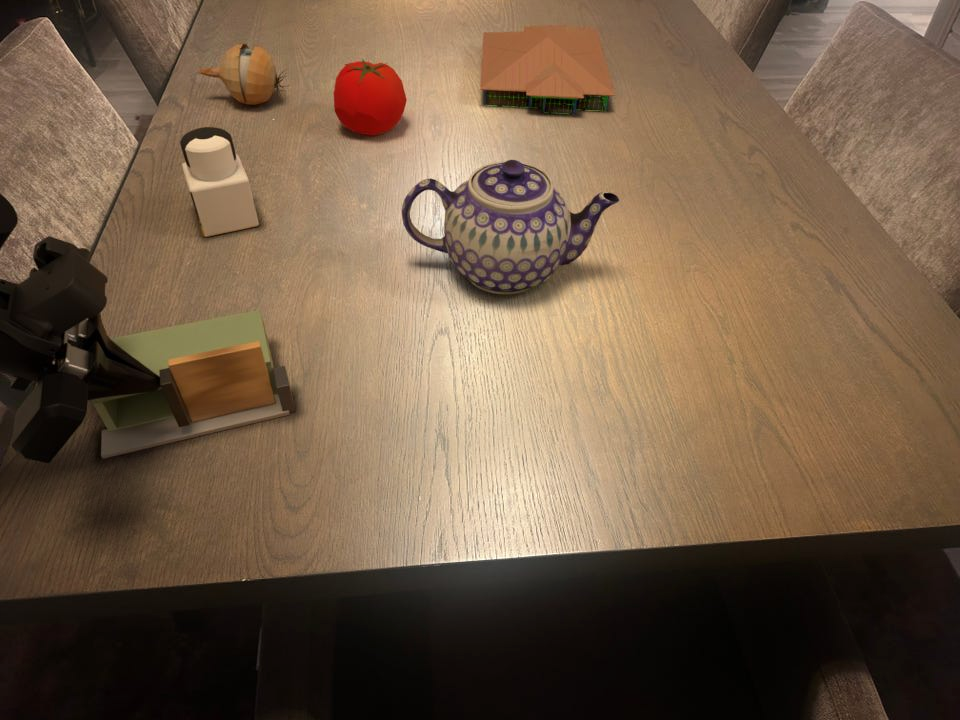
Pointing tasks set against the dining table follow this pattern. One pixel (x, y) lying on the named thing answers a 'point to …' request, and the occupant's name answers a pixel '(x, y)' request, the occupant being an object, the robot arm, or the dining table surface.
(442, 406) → the dining table surface
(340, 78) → the tomato
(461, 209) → the teapot
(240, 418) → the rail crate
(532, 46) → the house
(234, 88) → the split yellow onion
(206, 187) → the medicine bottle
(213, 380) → the sliding door
